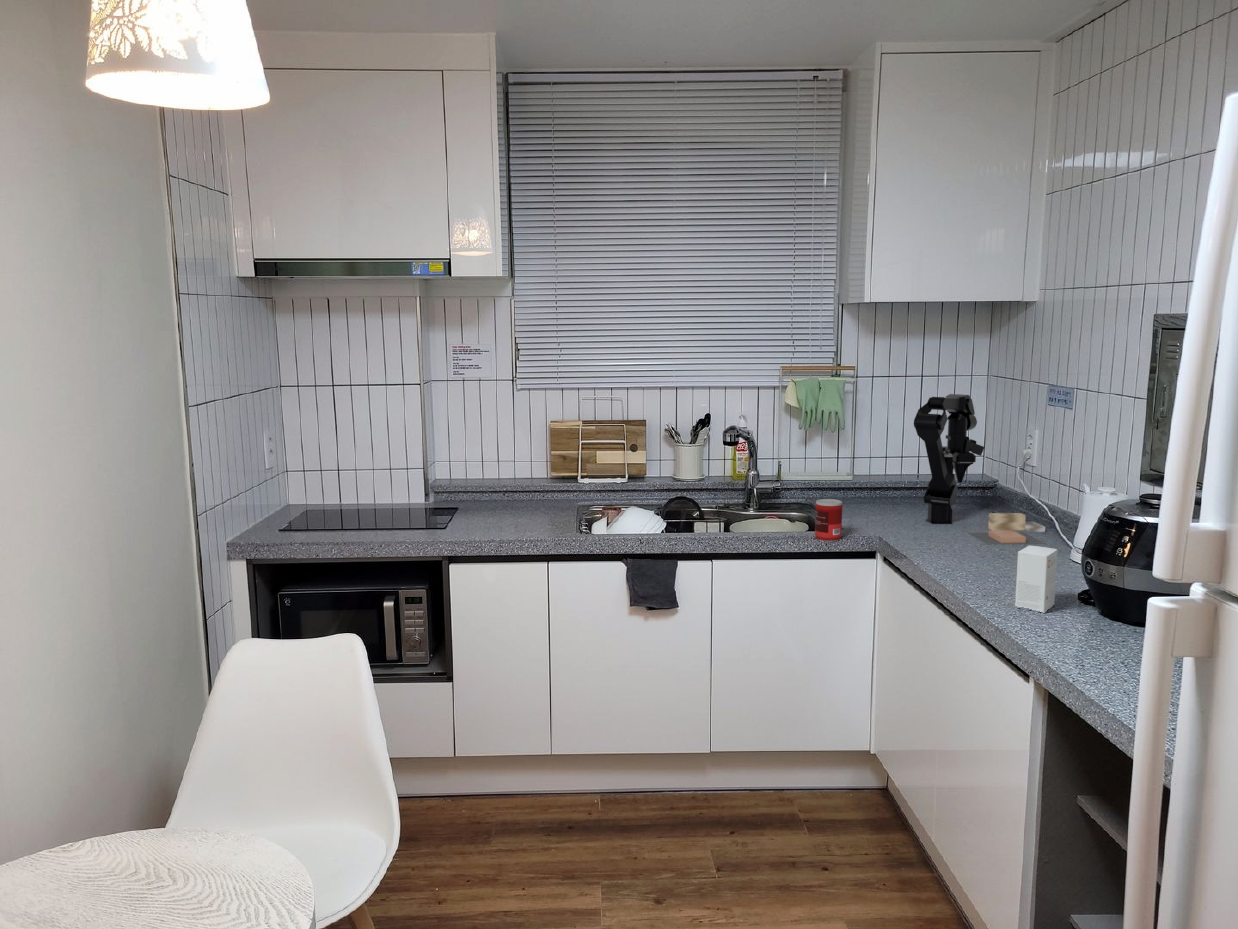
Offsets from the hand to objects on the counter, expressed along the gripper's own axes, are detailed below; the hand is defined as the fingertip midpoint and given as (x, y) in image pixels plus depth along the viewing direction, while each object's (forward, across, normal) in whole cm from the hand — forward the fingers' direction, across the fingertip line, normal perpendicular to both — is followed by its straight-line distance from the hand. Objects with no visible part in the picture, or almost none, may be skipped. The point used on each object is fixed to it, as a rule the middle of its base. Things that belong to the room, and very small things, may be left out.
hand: (954, 480), depth 299 cm
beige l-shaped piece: (+12, -21, -12) cm, 27 cm away
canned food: (+12, -30, +48) cm, 58 cm away
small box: (+12, -99, +17) cm, 101 cm away
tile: (+11, -30, -3) cm, 32 cm away
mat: (+12, -33, -4) cm, 36 cm away
